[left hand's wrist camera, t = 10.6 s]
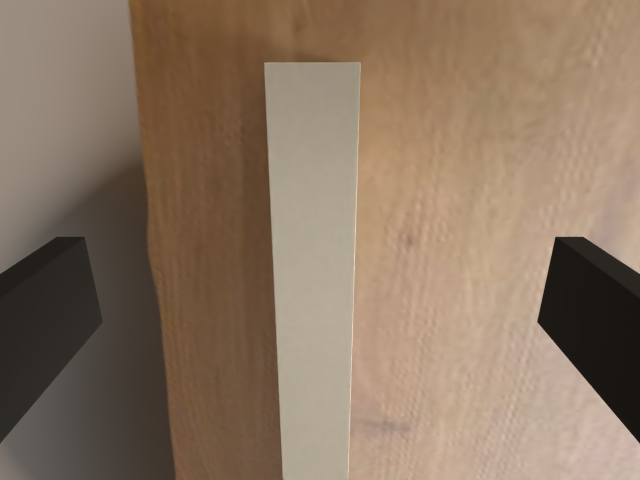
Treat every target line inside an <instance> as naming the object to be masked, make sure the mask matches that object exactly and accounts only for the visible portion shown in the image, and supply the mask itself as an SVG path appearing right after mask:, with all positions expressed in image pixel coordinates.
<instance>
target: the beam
mask: <svg viewBox="0 0 640 480" xmlns="http://www.w3.org/2000/svg"><path fill="white" fill-rule="evenodd" d="M360 68H361V63H360V62H265V63H264V78H265V100H266V122H267V144H268V167H269V189H270V211H271V233H272V256H273V278H274V300H275V322H276V344H277V367H278V389H279V411H280V433H281V455H282V478H283V480H348V463H349V430H350V397H351V364H352V331H353V298H354V265H355V233H356V200H357V167H358V134H359V101H360Z"/></svg>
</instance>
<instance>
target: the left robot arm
mask: <svg viewBox="0 0 640 480" xmlns="http://www.w3.org/2000/svg"><path fill="white" fill-rule="evenodd" d="M102 322H103V321H102V317H101V312H100V307H99V303H98V298H97V293H96V289H95V284H94V279H93V275H92V270H91V265H90V261H89V256H88V251H87V247H86V242H85V238H84V237H56V238H55V239H53V240H51V241H50V242H48V243H47V244H45V245H44V246H42V247H41V248H39V249H38V250H36V251H35V252H33V253H32V254H30V255H29V256H27V257H26V258H24V259H23V260H21V261H19V262H18V263H16V264H15V265H13V266H12V267H10V268H9V269H7V270H6V271H4V272H3V273H1V274H0V443H1V442H2V441H3V439H4V438H5V437H6V436H7V435H8V433H9V432H10V431H11V430H12V429H13V428H14V426H15V425H16V424H17V423H18V422H19V420H20V419H21V418H22V417H23V416H24V415H25V413H26V412H27V411H28V410H29V409H30V407H31V406H32V405H33V404H34V403H35V401H36V400H37V399H38V398H39V397H40V396H41V394H42V393H43V392H44V391H45V390H46V388H47V387H48V386H49V385H50V384H51V383H52V381H53V380H54V379H55V378H56V377H57V375H58V374H59V373H60V372H61V371H62V369H63V368H64V367H65V366H66V365H67V364H68V362H69V361H70V360H71V359H72V358H73V356H74V355H75V354H76V353H77V352H78V351H79V349H80V348H81V347H82V346H83V345H84V343H85V342H86V341H87V340H88V339H89V337H90V336H91V335H92V334H93V333H94V332H95V330H96V329H97V328H98V327H99V326H100V324H101V323H102ZM537 322H538V323H539V324H540V326H541V327H542V328H543V329H544V330H545V332H546V333H547V334H548V335H549V336H550V338H551V339H552V340H553V341H554V342H555V343H556V345H557V346H558V347H559V348H560V349H561V351H562V352H563V353H564V354H565V355H566V356H567V358H568V359H569V360H570V361H571V362H572V364H573V365H574V366H575V367H576V368H577V370H578V371H579V372H580V373H581V374H582V375H583V377H584V378H585V379H586V380H587V381H588V383H589V384H590V385H591V386H592V387H593V388H594V390H595V391H596V392H597V393H598V394H599V396H600V397H601V398H602V399H603V400H604V402H605V403H606V404H607V405H608V406H609V407H610V409H611V410H612V411H613V412H614V413H615V415H616V416H617V417H618V418H619V419H620V420H621V422H622V423H623V424H624V425H625V426H626V428H627V429H628V430H629V431H630V432H631V434H632V435H633V436H634V437H635V438H636V439H637V441H638V442H639V443H640V274H639V273H637V272H636V271H634V270H633V269H631V268H630V267H628V266H627V265H625V264H624V263H622V262H621V261H619V260H617V259H616V258H614V257H613V256H611V255H610V254H608V253H607V252H605V251H604V250H602V249H601V248H599V247H598V246H596V245H595V244H593V243H592V242H590V241H589V240H587V239H585V238H584V237H555V242H554V247H553V251H552V256H551V261H550V265H549V270H548V275H547V279H546V284H545V289H544V293H543V298H542V303H541V307H540V312H539V317H538V321H537Z"/></svg>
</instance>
